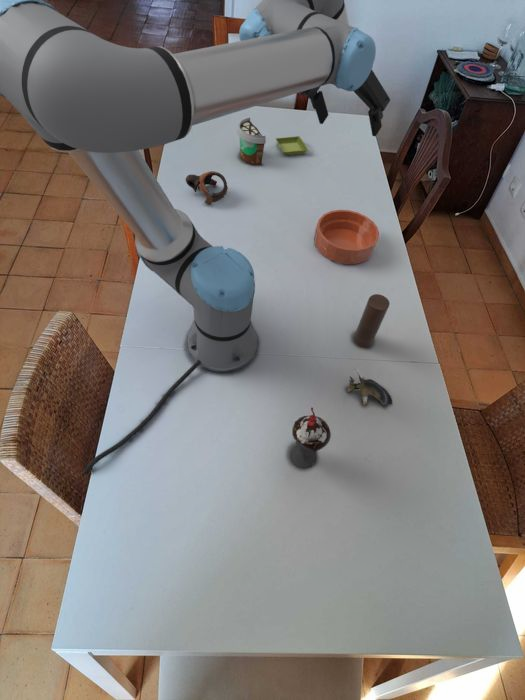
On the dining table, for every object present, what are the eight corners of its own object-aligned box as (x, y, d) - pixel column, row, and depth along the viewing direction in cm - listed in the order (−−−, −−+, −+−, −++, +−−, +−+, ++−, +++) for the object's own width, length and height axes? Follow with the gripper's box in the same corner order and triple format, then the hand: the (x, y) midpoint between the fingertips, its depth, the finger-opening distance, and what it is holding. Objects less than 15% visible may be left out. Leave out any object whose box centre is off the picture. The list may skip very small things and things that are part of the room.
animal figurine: (345, 409, 92) (391, 416, 90) (348, 376, 90) (395, 382, 88) (347, 394, 99) (390, 400, 97) (351, 363, 97) (394, 369, 95)
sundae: (298, 433, 89) (311, 393, 77) (326, 454, 87) (344, 417, 75) (278, 456, 86) (288, 419, 74) (306, 479, 84) (321, 445, 72)
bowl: (368, 272, 118) (374, 256, 114) (307, 257, 120) (311, 240, 116) (376, 234, 128) (382, 218, 124) (320, 220, 130) (324, 204, 125)
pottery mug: (225, 185, 136) (231, 172, 129) (220, 214, 135) (227, 202, 127) (185, 174, 133) (190, 159, 125) (180, 204, 131) (184, 190, 124)
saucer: (274, 143, 152) (275, 137, 150) (298, 141, 154) (299, 135, 152) (282, 158, 147) (283, 152, 146) (307, 155, 149) (308, 149, 148)
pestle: (371, 349, 103) (388, 312, 93) (352, 344, 104) (367, 306, 93) (373, 335, 106) (390, 297, 95) (355, 330, 106) (370, 291, 96)
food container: (230, 150, 148) (231, 119, 140) (247, 147, 149) (249, 116, 141) (245, 170, 141) (247, 139, 133) (263, 167, 143) (266, 136, 135)
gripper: (402, 26, 77) (410, 122, 95) (284, 14, 88) (312, 102, 107) (380, 60, 76) (392, 150, 95) (264, 43, 88) (295, 127, 106)
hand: (349, 125), depth 101 cm, fingers open, 13 cm apart
